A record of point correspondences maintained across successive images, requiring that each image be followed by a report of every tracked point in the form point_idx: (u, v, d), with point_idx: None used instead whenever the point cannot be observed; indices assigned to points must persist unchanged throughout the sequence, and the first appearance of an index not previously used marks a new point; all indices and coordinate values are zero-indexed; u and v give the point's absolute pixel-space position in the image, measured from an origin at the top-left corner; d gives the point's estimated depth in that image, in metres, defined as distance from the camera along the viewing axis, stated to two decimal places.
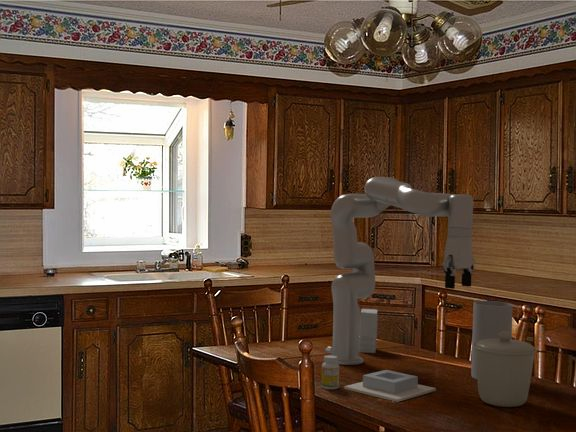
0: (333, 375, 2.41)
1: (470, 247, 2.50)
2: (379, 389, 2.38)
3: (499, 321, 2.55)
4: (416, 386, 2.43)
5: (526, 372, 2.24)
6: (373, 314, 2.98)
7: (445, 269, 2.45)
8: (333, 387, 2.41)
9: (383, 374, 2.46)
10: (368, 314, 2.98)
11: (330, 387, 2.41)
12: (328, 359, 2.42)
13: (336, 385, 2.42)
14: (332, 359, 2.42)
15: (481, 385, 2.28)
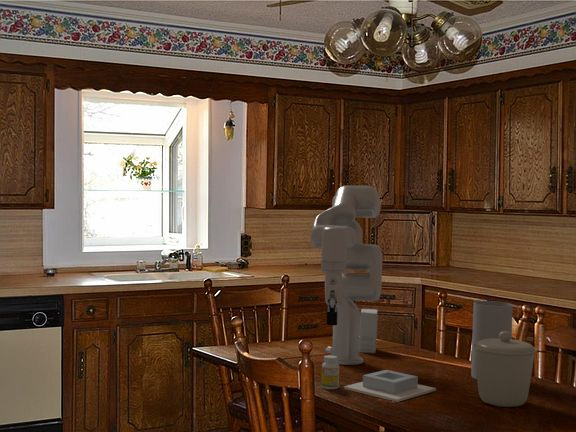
0: (333, 375, 2.41)
1: (325, 282, 2.40)
2: (379, 389, 2.38)
3: (499, 321, 2.55)
4: (416, 386, 2.43)
5: (526, 372, 2.24)
6: (373, 314, 2.98)
7: None
8: (333, 387, 2.41)
9: (383, 374, 2.46)
10: (368, 314, 2.98)
11: (330, 387, 2.41)
12: (328, 359, 2.42)
13: (336, 385, 2.42)
14: (332, 359, 2.42)
15: (481, 385, 2.28)
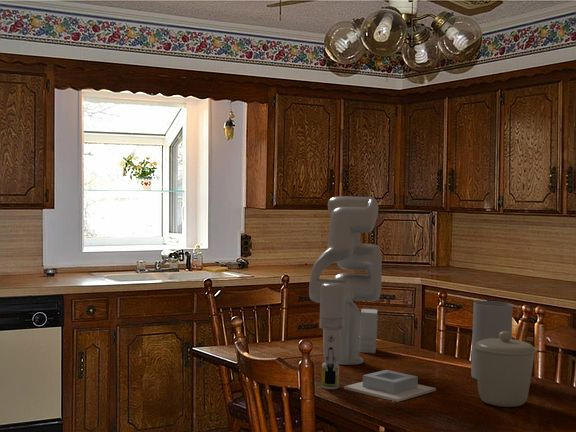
0: None
1: (323, 338, 2.41)
2: (379, 389, 2.38)
3: (499, 321, 2.55)
4: (416, 386, 2.43)
5: (526, 372, 2.24)
6: (373, 314, 2.98)
7: None
8: (333, 387, 2.41)
9: (383, 374, 2.46)
10: (368, 314, 2.98)
11: (330, 387, 2.41)
12: (328, 359, 2.42)
13: (336, 385, 2.42)
14: None
15: (481, 385, 2.28)
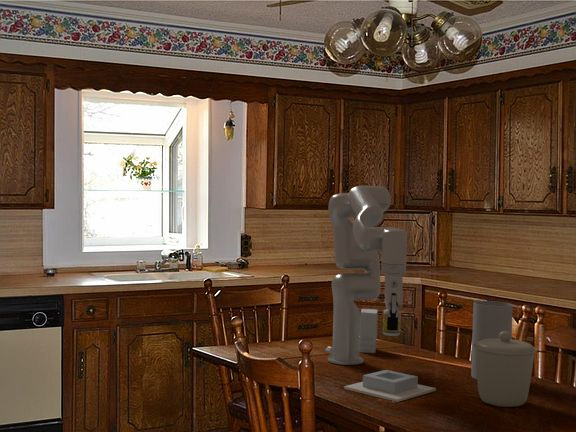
0: None
1: (386, 284, 2.39)
2: (379, 389, 2.38)
3: (499, 321, 2.55)
4: (416, 386, 2.43)
5: (526, 372, 2.24)
6: (373, 314, 2.98)
7: None
8: (395, 333, 2.40)
9: (383, 374, 2.46)
10: (368, 314, 2.98)
11: (392, 333, 2.40)
12: (390, 305, 2.40)
13: (398, 331, 2.41)
14: None
15: (481, 385, 2.28)
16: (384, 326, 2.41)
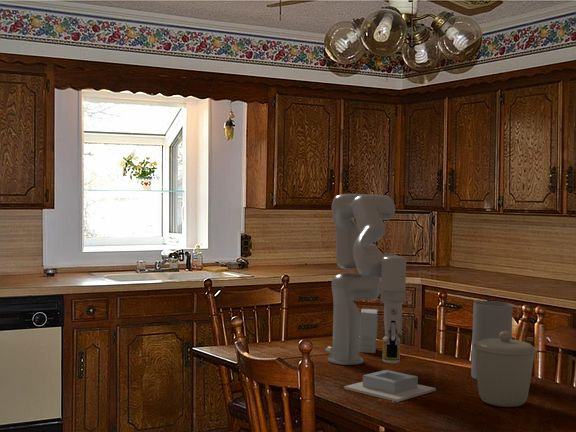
0: None
1: (385, 311, 2.40)
2: (379, 389, 2.38)
3: (499, 321, 2.55)
4: (416, 386, 2.43)
5: (526, 372, 2.24)
6: (373, 314, 2.98)
7: None
8: (395, 360, 2.40)
9: (383, 374, 2.46)
10: (368, 314, 2.98)
11: (392, 360, 2.40)
12: (389, 332, 2.41)
13: (398, 359, 2.41)
14: None
15: (481, 385, 2.28)
16: (383, 353, 2.41)
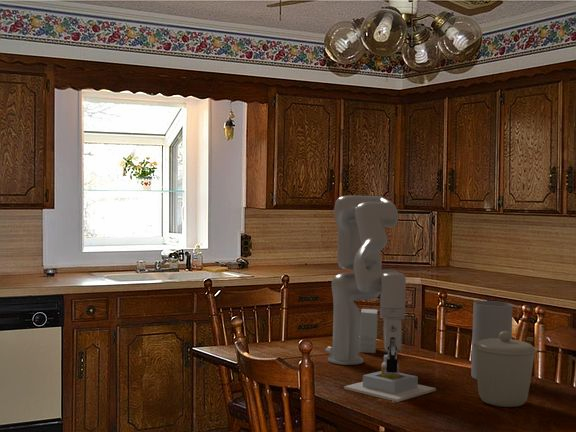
0: (394, 374, 2.40)
1: (384, 328, 2.40)
2: (379, 389, 2.38)
3: (499, 321, 2.55)
4: (416, 386, 2.43)
5: (526, 372, 2.24)
6: (373, 314, 2.98)
7: None
8: None
9: None
10: (368, 314, 2.98)
11: None
12: None
13: None
14: None
15: (481, 385, 2.28)
16: None
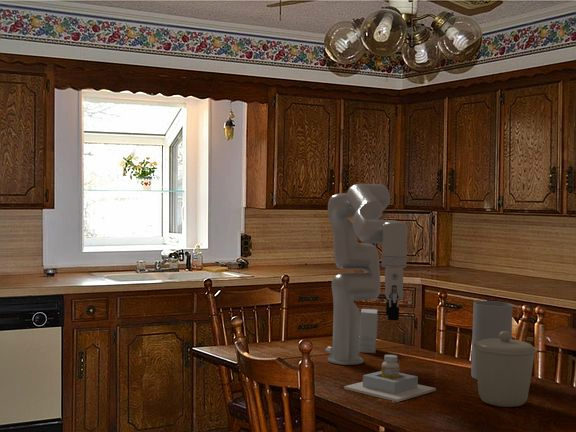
0: (394, 374, 2.40)
1: (386, 277, 2.40)
2: (379, 389, 2.38)
3: (499, 321, 2.55)
4: (416, 386, 2.43)
5: (526, 372, 2.24)
6: (373, 314, 2.98)
7: None
8: None
9: None
10: (368, 314, 2.98)
11: None
12: (388, 358, 2.41)
13: None
14: (392, 358, 2.41)
15: (481, 385, 2.28)
16: None
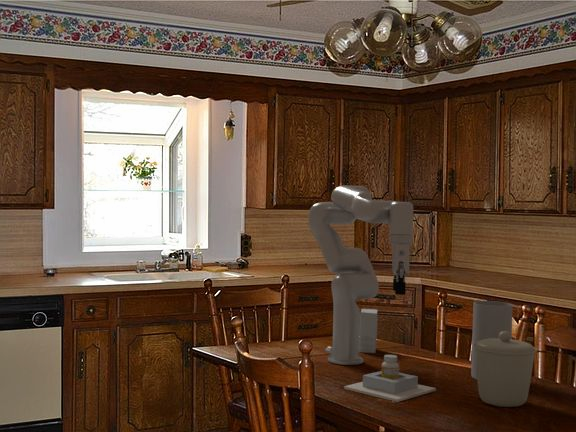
0: (394, 374, 2.40)
1: (393, 253, 2.53)
2: (379, 389, 2.38)
3: (499, 321, 2.55)
4: (416, 386, 2.43)
5: (526, 372, 2.24)
6: (373, 314, 2.98)
7: None
8: None
9: None
10: (368, 314, 2.98)
11: None
12: (388, 358, 2.41)
13: None
14: (392, 358, 2.41)
15: (481, 385, 2.28)
16: None
